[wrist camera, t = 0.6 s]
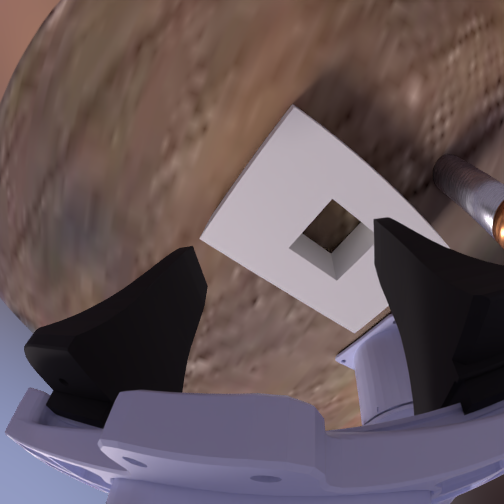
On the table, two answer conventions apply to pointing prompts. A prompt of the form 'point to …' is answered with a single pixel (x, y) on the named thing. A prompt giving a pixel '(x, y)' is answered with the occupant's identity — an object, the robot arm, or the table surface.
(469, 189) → the pin
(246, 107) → the table surface
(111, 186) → the table surface
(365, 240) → the block
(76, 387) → the robot arm
